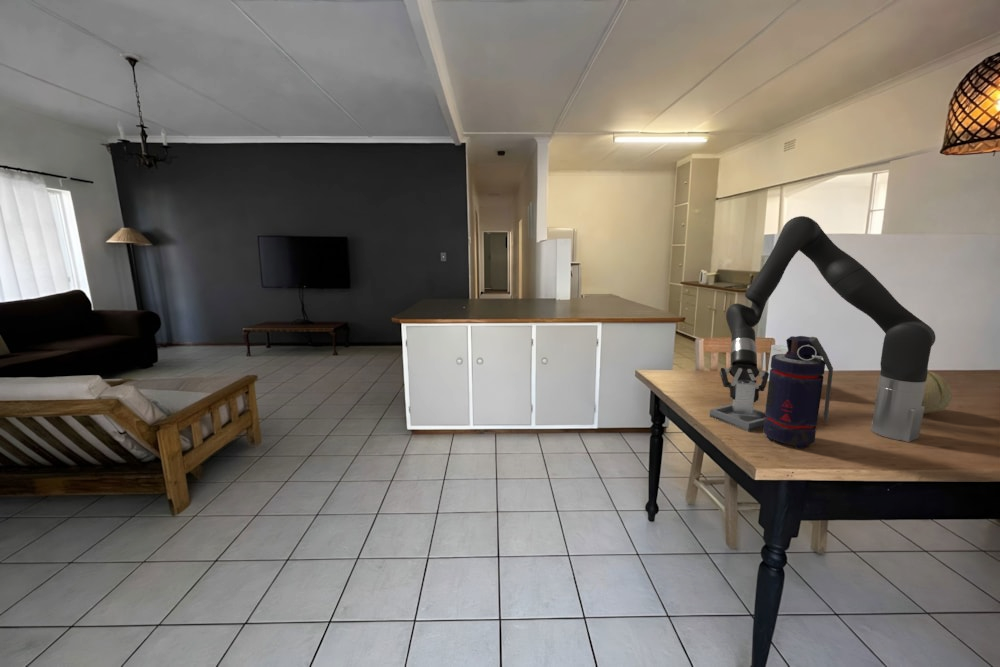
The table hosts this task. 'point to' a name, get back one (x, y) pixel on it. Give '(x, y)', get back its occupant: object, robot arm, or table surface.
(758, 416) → the tray
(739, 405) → the grey tall block
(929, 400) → the honeydew melon
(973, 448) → the table surface
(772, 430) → the grenade
